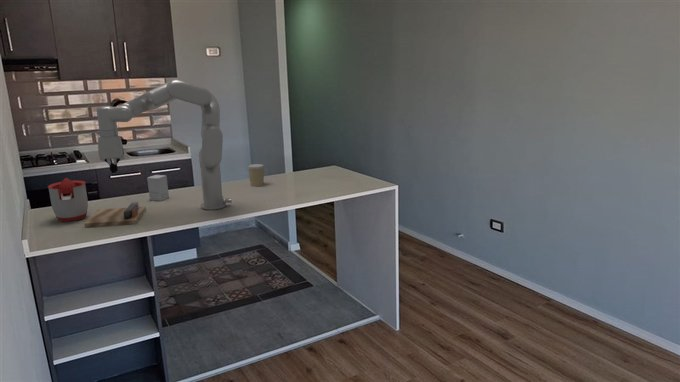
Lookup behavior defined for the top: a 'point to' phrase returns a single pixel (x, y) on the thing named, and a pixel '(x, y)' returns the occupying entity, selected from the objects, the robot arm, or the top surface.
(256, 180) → the coffee cup
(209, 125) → the robot arm
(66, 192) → the citrus juicer
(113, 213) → the flat wooden plank
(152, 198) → the supplement box
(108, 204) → the top surface
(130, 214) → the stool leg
